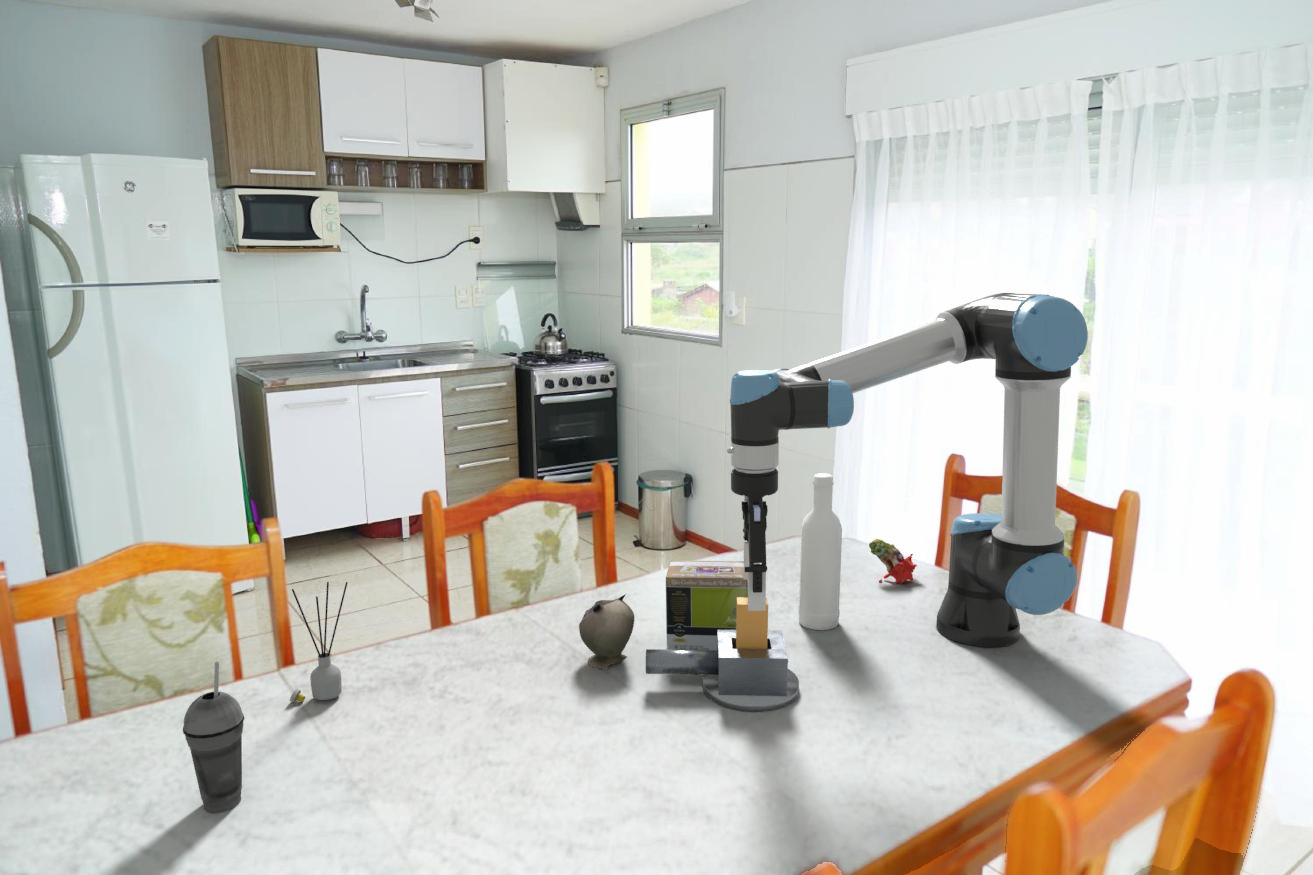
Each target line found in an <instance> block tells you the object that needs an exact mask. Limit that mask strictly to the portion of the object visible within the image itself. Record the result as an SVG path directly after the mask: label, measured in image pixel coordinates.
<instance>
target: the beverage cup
mask: <svg viewBox="0 0 1313 875" xmlns="http://www.w3.org/2000/svg"><path fill="white" fill-rule="evenodd" d="M219 665H220V662H219V661H215V662H214V679H213V680H214V682H213V685H214V686H213V691H210V692H206V693H203V694H202V695H199V696H198V697H197V698H196V699H194V701H192V703H191V704H190V705H189V707H188V708H187V710H186V712H185V714H184V718H183V726H182V732H183V733H182V734H184V736H185V740H186V743H187V746H188V747H189V750H190V753H191V755H190V756H191V758H192V762H193V763H192V764H193V767H194V772H195V776H196V781H197V785H198V786H197V787H198V788H199V789H198V790H199V795H200V799H201V800H202V805H203V810H204V811H205V812H207V813H210V814H218V813H223V812H228V811H230V810H232V809H234V808H235V807H237V806H239V804H240V803H241V801H242V788H243V779H242V778H243V776H242V774H243V770H242V769H243V767H242V766H243V760H242V759H243V758H242V756H243V753H242V749H243V748H242V747H243V744H242V743H243V741H242V738H243V737H242V736H243V732H244V721H245V715H244V713H243V711H242V707H241V705H240V703H239V702H238V700H237V699H236V698H235V697H234V696H232V695H231V694H229V693H226V692H223V691H219V680H220V678H219V676H220V675H219V674H220V671H219V670H220V669H219V668H220V666H219Z"/></svg>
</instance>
